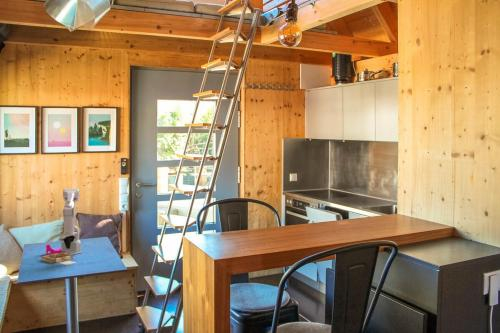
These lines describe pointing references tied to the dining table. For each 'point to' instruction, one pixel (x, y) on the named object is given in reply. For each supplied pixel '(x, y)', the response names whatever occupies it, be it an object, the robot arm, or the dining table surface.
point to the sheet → (72, 247)
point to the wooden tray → (55, 258)
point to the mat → (67, 262)
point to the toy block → (52, 250)
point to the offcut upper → (63, 254)
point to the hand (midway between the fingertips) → (69, 248)
